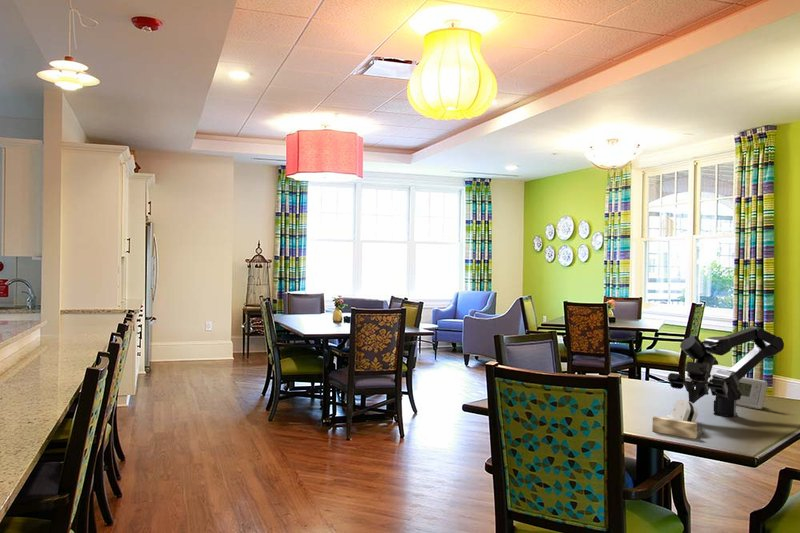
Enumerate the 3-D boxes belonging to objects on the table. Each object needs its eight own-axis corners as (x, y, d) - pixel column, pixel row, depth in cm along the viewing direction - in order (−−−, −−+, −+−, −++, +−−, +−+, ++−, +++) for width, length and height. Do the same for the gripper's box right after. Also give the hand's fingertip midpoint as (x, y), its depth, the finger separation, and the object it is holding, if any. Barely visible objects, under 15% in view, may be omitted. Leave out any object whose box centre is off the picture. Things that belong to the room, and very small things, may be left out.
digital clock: (718, 401, 261) (719, 374, 260) (735, 400, 264) (736, 373, 264) (754, 411, 245) (754, 382, 245) (771, 409, 249) (772, 381, 249)
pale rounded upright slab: (664, 419, 229) (675, 393, 229) (677, 425, 229) (688, 398, 228) (674, 432, 213) (686, 403, 212) (689, 438, 212) (701, 409, 211)
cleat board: (702, 433, 212) (702, 419, 212) (695, 438, 206) (695, 424, 206) (659, 426, 220) (660, 412, 220) (652, 431, 214) (652, 417, 214)
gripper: (670, 350, 236) (657, 385, 228) (725, 356, 223) (714, 393, 215) (678, 369, 242) (665, 404, 234) (732, 376, 229) (721, 413, 221)
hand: (690, 403), depth 226 cm, fingers closed
